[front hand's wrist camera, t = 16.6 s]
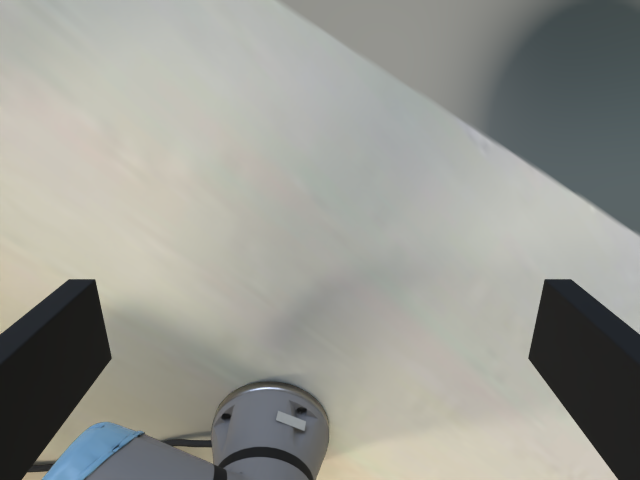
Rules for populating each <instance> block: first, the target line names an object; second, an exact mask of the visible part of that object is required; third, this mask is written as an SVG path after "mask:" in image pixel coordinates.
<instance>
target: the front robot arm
mask: <svg viewBox="0 0 640 480" xmlns="http://www.w3.org/2000/svg"><path fill="white" fill-rule="evenodd" d="M111 359H112V357H111V353H110V348H109V343H108V338H107V334H106V329H105V324H104V319H103V314H102V310H101V305H100V300H99V295H98V290H97V286H96V281H95V279H69V280H68V281H66V282H65V283H64V284H63V285H61V286H60V287H59V288H58V289H56V290H55V291H54V292H53V293H51V294H50V295H49V296H48V297H47V298H45V299H44V300H43V301H42V302H40V303H39V304H38V305H37V306H35V307H34V308H33V309H32V310H30V311H29V312H28V313H27V314H25V315H24V316H23V317H22V318H20V319H19V320H18V321H17V322H15V323H14V324H13V325H12V326H10V327H9V328H8V329H7V330H5V331H4V332H3V333H2V334H0V480H22V478H23V477H24V476H25V474H26V473H27V472H43V471H48V472H47V474H46V475H45V476H44V477H43V479H42V480H316V478H317V475H318V472H319V470H320V467H321V465H322V462H323V459H324V457H325V454H326V451H327V447H328V443H329V423H328V419H327V415H326V413H325V411H324V409H323V408H322V406H321V405H320V403H319V402H318V401H317V400H316V399H315V398H314V397H313V396H311V395H310V394H309V393H307V392H305V391H304V390H302V389H300V388H298V387H295V386H293V385H289V384H285V383H280V382H258V383H253V384H249V385H246V386H244V387H241V388H239V389H237V390H235V391H234V392H232V393H231V394H230V395H228V396H227V397H226V398H225V399H224V400H223V402H222V403H221V404H220V406H219V407H218V409H217V412H216V415H215V418H214V421H213V424H212V431H211V440H185V439H175V440H168V441H163V442H161V441H159V440H157V439H154V438H152V437H150V436H147V435H145V432H143V431H134V430H131V429H128V428H125V427H122V426H120V425H117V424H114V423H111V422H101V423H97V424H95V425H93V426H91V427H89V428H88V429H87V430H85V431H84V432H83V433H82V434H81V435H80V436H79V437H78V438H77V439H76V440H75V441H74V442H73V443H72V444H71V445H70V446H69V447H68V449H67V450H66V451H65V452H64V453H63V454H62V455H61V457H60V458H59V459H58V460H57V461H56V462H55V464H50V465H33V464H34V462H35V461H36V460H37V458H38V457H39V456H40V454H41V453H42V452H43V450H44V449H45V447H46V446H47V445H48V443H49V442H50V441H51V439H52V438H53V437H54V435H55V434H56V433H57V431H58V430H59V429H60V427H61V426H62V425H63V423H64V422H65V421H66V419H67V418H68V417H69V415H70V414H71V412H72V411H73V410H74V408H75V407H76V406H77V404H78V403H79V402H80V400H81V399H82V398H83V396H84V395H85V394H86V392H87V391H88V390H89V388H90V387H91V386H92V384H93V383H94V381H95V380H96V379H97V377H98V376H99V375H100V373H101V372H102V371H103V369H104V368H105V367H106V365H107V364H108V363H109V361H110V360H111ZM528 359H529V360H530V361H531V363H532V364H533V365H534V367H535V368H536V369H537V371H538V372H539V373H540V375H541V376H542V377H543V379H544V380H545V381H546V383H547V384H548V386H549V387H550V388H551V390H552V391H553V392H554V394H555V395H556V396H557V398H558V399H559V400H560V402H561V403H562V404H563V406H564V407H565V408H566V410H567V411H568V412H569V414H570V415H571V417H572V418H573V419H574V421H575V422H576V423H577V425H578V426H579V427H580V429H581V430H582V431H583V433H584V434H585V435H586V437H587V438H588V439H589V441H590V442H591V443H592V445H593V446H594V447H595V449H596V450H597V452H598V453H599V454H600V456H601V457H602V458H603V460H604V461H605V462H606V464H607V465H608V466H609V468H610V469H611V470H612V472H613V473H614V474H615V476H616V477H617V478H618V480H640V334H638V333H637V332H636V331H635V330H633V329H632V328H631V327H630V326H628V325H627V324H626V323H625V322H623V321H622V320H621V319H620V318H618V317H617V316H616V315H615V314H613V313H612V312H611V311H610V310H608V309H607V308H606V307H605V306H603V305H602V304H601V303H600V302H598V301H597V300H596V299H595V298H593V297H592V296H591V295H590V294H589V293H587V292H586V291H585V290H584V289H582V288H581V287H580V286H579V285H577V284H576V283H575V282H574V281H572V280H571V279H545V281H544V286H543V290H542V295H541V300H540V305H539V310H538V314H537V319H536V324H535V329H534V334H533V338H532V343H531V348H530V353H529V357H528ZM172 446H187V447H212V452H213V462H214V464H212V463H210V462H207V461H205V460H203V459H200V458H198V457H196V456H193V455H191V454H188V453H186V452H184V451H182V450H179V449H177V448H175V447H172Z"/></svg>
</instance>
